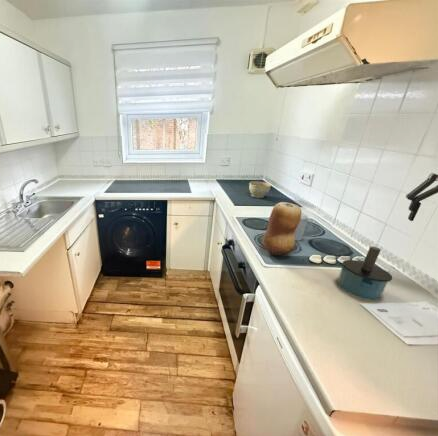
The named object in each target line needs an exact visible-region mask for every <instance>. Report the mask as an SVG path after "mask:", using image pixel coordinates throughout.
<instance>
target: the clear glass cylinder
mask: <svg viewBox="0 0 438 436" xmlns="http://www.w3.org/2000/svg"><path fill="white" fill-rule="evenodd" d="M309 218H310V217H309V215H307V214H306V213H303V212H302V213H301V219H300V222H299V224H298V226H297V228H296V230H295V232H294V236H295V241H300V240H303V237H304V234H305V230H306V227H307V223H308V221H309Z"/></svg>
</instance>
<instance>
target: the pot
mask: <svg viewBox="0 0 438 436" xmlns="http://www.w3.org/2000/svg"><path fill="white" fill-rule="evenodd" d="M357 261H361V262H364V260H361V259H357ZM388 283H389V282H380V281H375V280H370V279H367V278H364V277H361V276H358V275H356V274H354V273H352V272H350V271H348V270H347V269H346V268H345V267H344V266H343V265H342V267H341V269H340V272H339V274H338V277H337V284H338V286H339V287H340V288H341V289H343V290H344V291H345V292H347V293H349V294H351V295H353V296H355V297H358V298H361V299H366V300H378V299H380V298H381V297H382V295H383V293H384V291H385V288H386V287H387V285H388Z"/></svg>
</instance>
